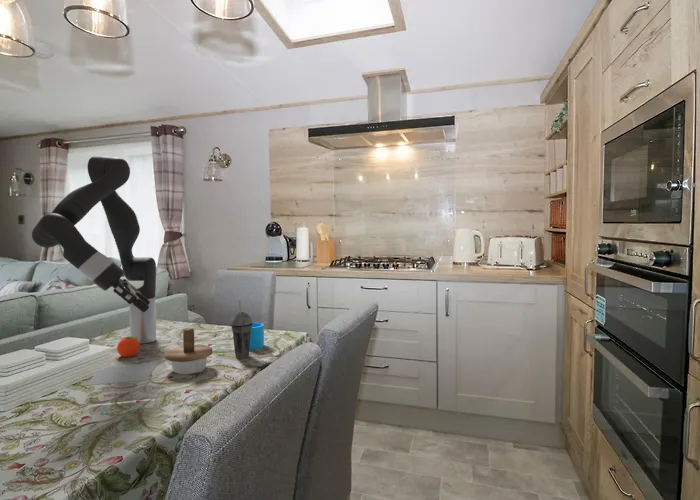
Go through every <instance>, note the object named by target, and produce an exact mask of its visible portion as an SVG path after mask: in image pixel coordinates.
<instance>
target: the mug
mask: <svg viewBox="0 0 700 500" xmlns="http://www.w3.org/2000/svg"><path fill="white" fill-rule="evenodd" d="M252 323H253V324H252V329H251V337H250V350H258V349H263V347H264V346H265V324H264V323H261V322H252Z"/></svg>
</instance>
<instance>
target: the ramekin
mask: <svg viewBox="0 0 700 500" xmlns="http://www.w3.org/2000/svg"><path fill="white" fill-rule="evenodd" d="M207 361H208V357H206V358H203V359H199V360H194V361H185V362H175V361H170V362H171V368H172V372H174V373H175V374H178V375H190V374H194V373H202V372H204V371H205V369H206V367H207Z"/></svg>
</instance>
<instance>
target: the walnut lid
mask: <svg viewBox="0 0 700 500" xmlns="http://www.w3.org/2000/svg"><path fill="white" fill-rule="evenodd" d="M182 340H183V342H182V343H183V345H182V346H177V347H174V348H171V349H168V350H166V351H165V352H164V359H165V360H167V361H169V362H171V361H175V362H185V361H194V360H199V359H203V358H206V357H207V358H208V357H210V356H211V355H213V348H212V346H210V345H204V344H195V328H193V327H187V328H183V330H182Z"/></svg>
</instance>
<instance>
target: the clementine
mask: <svg viewBox="0 0 700 500" xmlns="http://www.w3.org/2000/svg"><path fill="white" fill-rule="evenodd" d="M135 338H136V339H135ZM135 338H133V337H130V336H125V337H124V338H122V339H121V340H119V342H118V344H117V348H116V349H117V353H118V354H119V355H120V356H121V357H123V358H130V357H134V356H135V355H137V354H138V352H139V351H140V349H141V348H140V346H141V344H139V342H138V339H137V337H135Z"/></svg>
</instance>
